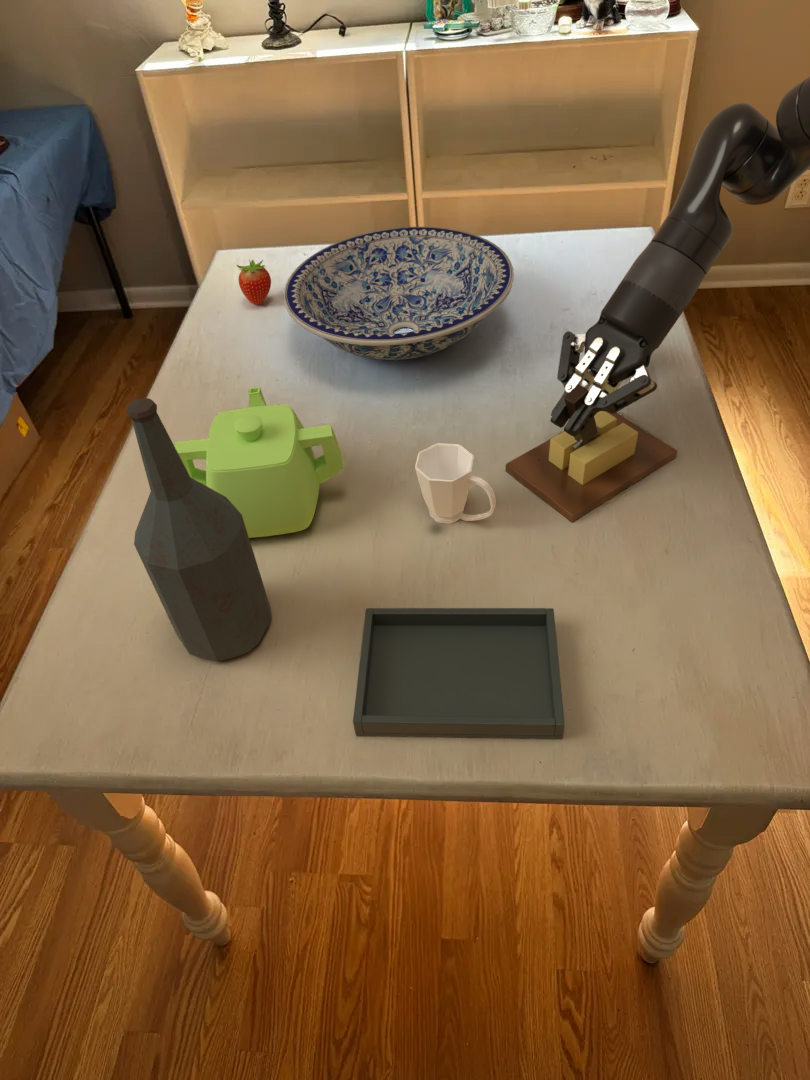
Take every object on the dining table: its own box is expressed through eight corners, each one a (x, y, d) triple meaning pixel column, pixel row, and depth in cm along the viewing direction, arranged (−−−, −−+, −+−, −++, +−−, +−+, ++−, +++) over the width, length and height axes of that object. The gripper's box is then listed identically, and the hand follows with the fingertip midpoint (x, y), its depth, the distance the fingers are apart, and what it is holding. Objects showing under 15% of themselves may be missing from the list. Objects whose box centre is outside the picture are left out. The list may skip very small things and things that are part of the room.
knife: (597, 440, 99) (583, 379, 89) (606, 447, 98) (593, 385, 88) (574, 461, 98) (558, 401, 89) (583, 468, 97) (568, 408, 88)
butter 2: (619, 444, 100) (623, 422, 97) (634, 453, 98) (638, 432, 96) (567, 474, 97) (570, 453, 94) (582, 485, 95) (585, 463, 93)
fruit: (253, 294, 135) (243, 250, 129) (280, 297, 134) (271, 253, 128) (238, 310, 132) (227, 265, 126) (266, 314, 130) (256, 269, 124)
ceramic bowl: (347, 268, 139) (340, 212, 132) (536, 293, 129) (540, 234, 121) (254, 378, 118) (239, 319, 110) (472, 418, 108) (471, 356, 100)
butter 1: (599, 430, 102) (602, 409, 99) (613, 440, 100) (617, 418, 98) (548, 460, 99) (550, 439, 96) (562, 470, 97) (564, 449, 95)
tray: (551, 623, 83) (553, 607, 81) (562, 739, 74) (564, 725, 72) (368, 622, 85) (365, 607, 83) (356, 736, 75) (352, 722, 73)
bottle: (263, 580, 90) (194, 357, 68) (281, 646, 83) (211, 422, 61) (173, 607, 88) (73, 387, 66) (185, 676, 82) (78, 457, 60)
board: (606, 413, 106) (607, 406, 105) (676, 457, 99) (677, 450, 98) (505, 471, 100) (505, 463, 99) (572, 522, 93) (572, 515, 92)
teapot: (199, 455, 106) (171, 375, 97) (345, 439, 106) (332, 357, 97) (185, 555, 93) (151, 473, 84) (351, 536, 94) (337, 452, 84)
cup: (436, 484, 99) (433, 434, 93) (507, 511, 95) (509, 460, 89) (407, 519, 95) (402, 469, 89) (480, 548, 91) (480, 498, 85)
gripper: (713, 333, 85) (619, 466, 90) (620, 286, 93) (537, 410, 98) (690, 307, 80) (590, 450, 84) (592, 259, 88) (506, 392, 92)
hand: (562, 428), depth 91 cm, fingers closed on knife, 1 cm apart
